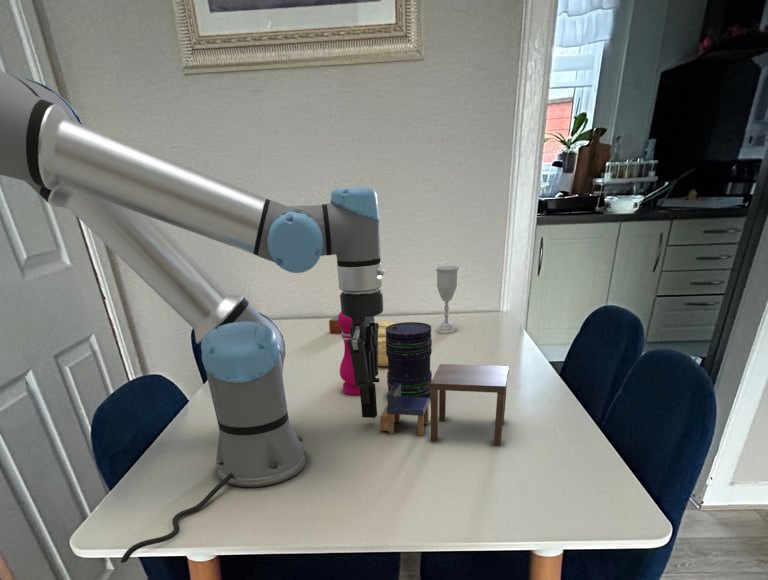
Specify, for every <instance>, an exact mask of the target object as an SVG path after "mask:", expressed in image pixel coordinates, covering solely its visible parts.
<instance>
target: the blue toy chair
mask: <svg viewBox="0 0 768 580" xmlns="http://www.w3.org/2000/svg"><path fill="white" fill-rule="evenodd" d="M386 397H387V405H386V406H385V408H384V409H383V411H382V413H381V414H380V416H379V419H380V420H379V421H380V431H382V432H388V434H391V435H394V433H395V431H396V430H395V423H400V422H401V416H417V436H424V434H425V433H424V432H425V431H424V430H425V425H428V424H429V420H430V419H429V416H430V407H429V405H430V399H429V398H424V397H402V396H401V383H394V385H393V386H392V388H391V389H390V391H388V392H387V394H386Z"/></svg>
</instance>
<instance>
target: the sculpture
mask: <svg viewBox="0 0 768 580" xmlns="http://www.w3.org/2000/svg"><path fill="white" fill-rule="evenodd" d="M374 323H378V324H379V329H378V367H388V357H387V355H386V330H385V329H386V327H387V326H390V325H392V324H397V322H396V321H387V320H382V321H374Z"/></svg>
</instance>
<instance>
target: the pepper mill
mask: <svg viewBox="0 0 768 580" xmlns="http://www.w3.org/2000/svg"><path fill="white" fill-rule="evenodd" d="M338 315H339V316H338ZM338 315H337V316H338V325H339V327H340V328H341V329H342V332H341V339H342V340H343V343H344V353H343V357H342V360H341V363H340V366H339V377H340V378H341V380H342V381H344V382H343V383H342V390H343V393H344V394H346V395H349V396H350V395H351V396H360V387H358V386H355V377H354V371H353V365H352V359H351V353H350V349H349V346H348V339H352V336H351V331H350V328H351V326H352V319H351V318H350V317H347V316H344V315H343V314H342V312H341V311H340V312H339V314H338Z"/></svg>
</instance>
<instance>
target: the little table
mask: <svg viewBox="0 0 768 580" xmlns="http://www.w3.org/2000/svg"><path fill="white" fill-rule="evenodd" d="M509 371H510V366H509V365H487V364H485V365H484V364H482V365H481V364H450V363H440V364H439V365H438V367H437V369H436V371H435V373H434V376H432V378H431V379H432V381H431V383H430V390H431V398H430V442H435V443H436V442H438V441H439V421H440V422H441V421H443V422H445V421H446V419H447V391H449V392H450V391H451V392H453V391H454V392H471V393H472V392H473V393H495V394H496V393H497V394H496V406H495V421H494V433H493V434H494V435H493V446H499V447H500V446H501V445H502V434H503V433H502V431H503V425H504V424H505V414H506V402H507V401H506V400H507V389H508V378H509V377H508V376H509Z"/></svg>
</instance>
